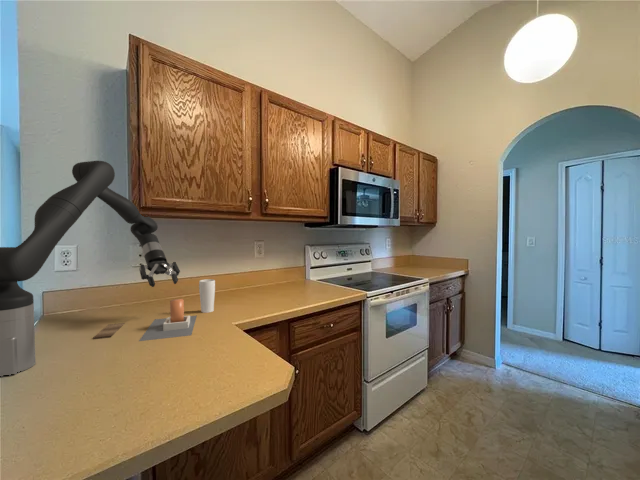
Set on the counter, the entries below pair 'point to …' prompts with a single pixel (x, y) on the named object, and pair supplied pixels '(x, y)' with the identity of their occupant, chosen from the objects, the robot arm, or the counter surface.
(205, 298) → the drinking glass
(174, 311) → the orange cylinder
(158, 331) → the board
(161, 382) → the counter surface
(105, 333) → the pad
